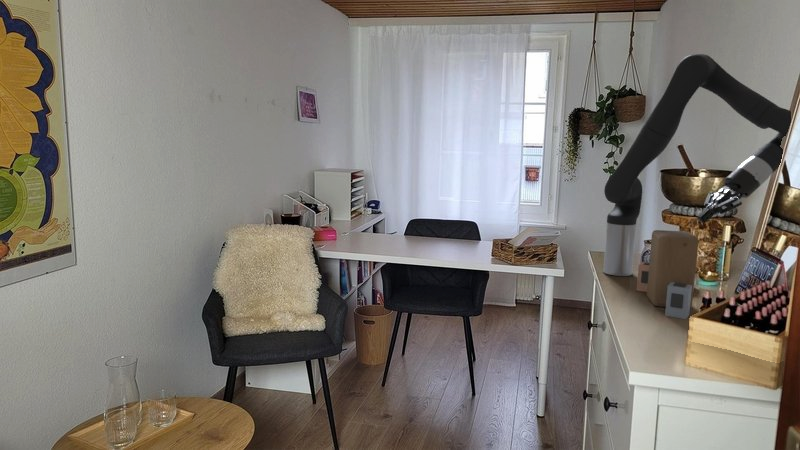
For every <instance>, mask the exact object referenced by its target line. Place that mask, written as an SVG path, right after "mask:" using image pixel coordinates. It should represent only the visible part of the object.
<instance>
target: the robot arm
mask: <svg viewBox="0 0 800 450" xmlns="http://www.w3.org/2000/svg"><path fill="white" fill-rule="evenodd" d="M699 88H703V89H704V90H707V91H709V92H710V93H713V94H714V95H716V96H717V97H719V98H721V99H722V100H723V101H724V102H725V103H727V104H728V105H729V106H730V108H732V109H733V110H734V111H735V112H736V113H737V114H738V115H740V116H741V117H743V118H744V119H745V120H747V121H748V122H749V123H752V124H753V125H755V127H758V128H759V129H763V130H767V129H771V130H774V131H776V132H777V133H776V134H775V136H774V137H772V139H771V140H770V141H769V142H767V143H765V144H763V145H762V146H760V147H759V148H758V149H757V150H756V151H754V153H753V154H752V155H751V156H750V157H748V158H746V159H745V160H744V161H743V162H741V164H739V165H738V166H737V167H736V168H735V169H734V170H733V171H732V172H731V173H729V175H727V176H726V177H725V178H724V186H722V187H721V188H719V189H718V191H716V192H713V191H710V192H708V194H707V196H706V198H705V201H704V204H703V205H704V207H705V209H704V210H703V211H702V212H700V213H699V215H697V217H696V219H697V220H698V222H700V223H702V224H706V223H707V222H708V221H709V220H710V219H712V218H713V216H717V215H718V214H720V215H723V214H725V213H727V212H730V211H731V210H733V209H735V208H737V207H741V206H742V205H743V202H742V201H741V199H742V198H744V199H746V198H748V197H750V196H751V195H752V194H753V193H754V192H755V191H756V190H758V189H759V188H760V187H762V185H763V184H764V183H765V182H766V181H768V179H769V178H770V177H771V175H772V174H774V172H776V171H777V170H778V169H779V168H780V167H779V165H780V163H781V159H782V154H783V149H782V148H781V147H780V145H781V141H782V138H783V137H784V136H786V134H787V132H788V129H789V126H790V123H791V111H792V110H790V109H786V108H783V107H780V106H779V105H777V104H776V103H774V102H773V101H771V100H769V99H768V98H766V97H765V96H763V95H761V94H760V93H758V92H757V91H755V90H754V89H751V87H748V86H747V85H745V84H743V83H742V82H740V81H739V80H737V79H736V78H735V77H734V76H732V75H731V74H730V73H729V72H727V71H726V70H725V69H724V68H723V67H722V66H721V65H720V64H719V63H718V62H717V61H716V60H714V59H713V58H712V57H711V56H709V55H708V54H704V53H696V54H695V53H694V54H689V55H686V56H685V57H684V58H683V59H681V60H680V62H679V63H678V64H677V66H676V67H675V70H674V72H673V74H672V76H671V79H670V81H669V83H668V85H667V87H666V89H665V92H664V93H663V95H662V96H661V98H660V99H659V101H658V103H657V104H656V105H655V106H654V108H653V110H652V111H651V113H650V114H649V116H648V117H647V119H646V121H645V122H644V123H643V126H642V127H641V129H640V130H639V132H638V134H637V136H636V138H635V140H634V141H633V142H632V144H631V146H630V147H629V149H628V151H627V152H626V154H625V156H624V158H623V159H622V161H620V163H619V164H618V166H617V168H615V170H614V171H613V172H612V174H611V175H610V177H609V178H608V180H607V181H606V183H605V186H604V191H603V192H604V196H605V199H606V201H608V202H609V203H612V204H615V205H614V207H613V209H612V210H611V211H610V212H608V214H607V217H606V228H605V242H604V243H605V244H604V245H605V246H604V255H603V256H604V259H603V267H602V268H603V269H602V270H603V271H602V272H603V273H604V274H606V275H609V276H610V275H611V276H617V277H629V276H632V275H633V268H634V267H633V266H634V254H635V244H636V234H637V233H636V231H637V220H638V218H639V216H640V213H641V206H642V205H641V204H642V199H643V185H642V182H641V180H640V178H639V175H640V174H641V173H642V172H643V170H644V169H645V168H646V167H647V166H648V165H650V164H651V163H652V162H653V161H654V160H655V159H657V158H658V157H659V156H660V155H661V154H662V153H663V152H664V150H666V148H667V147H668V145H669V144H670V142H671V141H672V139H673V137H674V136H675V134H676V132H677V131H678V127H679V126H680V123H681V120H682V116H683V114H684V110H685V108H686V107H687V105H688V103H689V102H690V100H691V99H692V98H693V96H694V94H695V93H696V92H697V91H698V90H699ZM778 167H779V168H778Z"/></svg>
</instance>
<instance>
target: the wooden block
mask: <svg viewBox="0 0 800 450" xmlns="http://www.w3.org/2000/svg"><path fill="white" fill-rule="evenodd" d="M650 240H651V242H650V251H649V252H650V253H649V274H648V286H647V292H646V297H647V298H648V300H649V301H650V302H651V304H652V305H653V306H655V307H662V308H666V299H667V288H668V285H669V284H670V283H671V282H676V283H682V284H688V285H692V292H691V302H690V309H691V308H692V306H693V299H694V290H695V287H694V281H695V280H696V268H697V259H698V251H699V238H698V237H697V236H696V235H693V234H692V233H691V232H689V231H682V230H680V231H679V230H662V229H656V230H653V231H652V232H651V239H650Z"/></svg>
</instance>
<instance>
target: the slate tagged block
mask: <svg viewBox="0 0 800 450" xmlns="http://www.w3.org/2000/svg"><path fill="white" fill-rule="evenodd" d="M691 292H692V285H688V284H682V283H676V282H671V283H670V284H669V285H668V288H667V299H666V307H665V312H664V313H665V314H664V316H667V317H671V318H676V319H683V320H686V319H688V318H689V316H690V311H691V308H690V302H691Z"/></svg>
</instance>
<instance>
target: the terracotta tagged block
mask: <svg viewBox="0 0 800 450" xmlns="http://www.w3.org/2000/svg"><path fill="white" fill-rule="evenodd" d="M649 263H650V261H649V262H647V261H642V262H641V263H639V264H638V268H637V279H636V280H637V281H636V291H639V292H643V293H647V286H648V274H649Z"/></svg>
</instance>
